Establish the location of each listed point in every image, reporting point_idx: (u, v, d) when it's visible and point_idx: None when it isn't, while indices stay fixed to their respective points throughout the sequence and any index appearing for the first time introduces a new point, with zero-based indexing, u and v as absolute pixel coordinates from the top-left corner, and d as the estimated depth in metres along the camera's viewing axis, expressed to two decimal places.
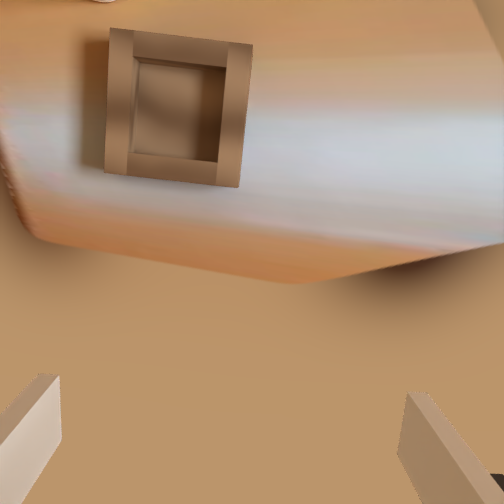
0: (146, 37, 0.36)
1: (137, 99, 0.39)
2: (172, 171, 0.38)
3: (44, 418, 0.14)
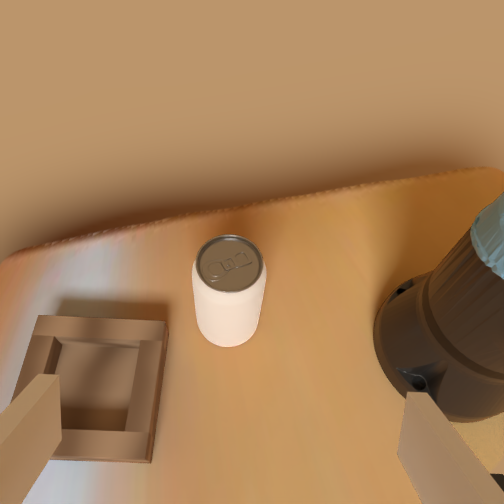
0: (155, 352, 0.39)
1: (110, 346, 0.42)
2: (27, 379, 0.37)
3: (44, 418, 0.14)
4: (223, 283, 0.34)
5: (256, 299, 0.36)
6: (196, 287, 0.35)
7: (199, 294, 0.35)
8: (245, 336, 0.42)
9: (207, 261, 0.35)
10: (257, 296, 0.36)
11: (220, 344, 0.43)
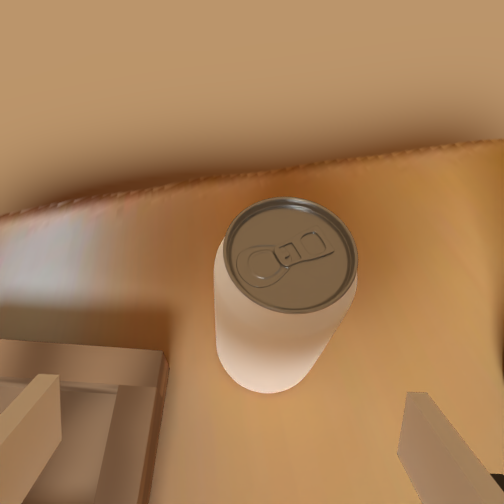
0: (144, 408, 0.22)
1: (70, 390, 0.24)
2: None
3: (44, 418, 0.14)
4: (278, 292, 0.17)
5: (338, 324, 0.19)
6: (222, 298, 0.18)
7: (228, 312, 0.18)
8: (299, 378, 0.25)
9: (245, 248, 0.18)
10: (341, 319, 0.18)
11: (255, 389, 0.25)
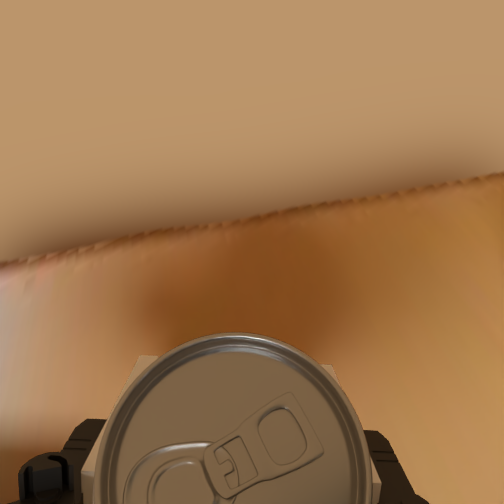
0: None
1: None
2: None
3: None
4: None
5: None
6: None
7: None
8: None
9: (146, 455, 0.09)
10: None
11: None
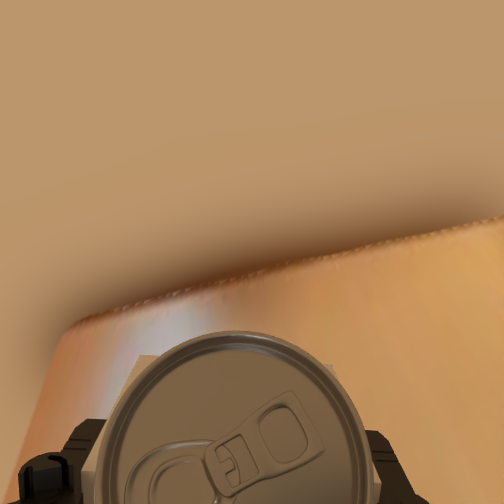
0: None
1: None
2: None
3: None
4: None
5: None
6: None
7: None
8: None
9: (147, 454, 0.09)
10: None
11: None
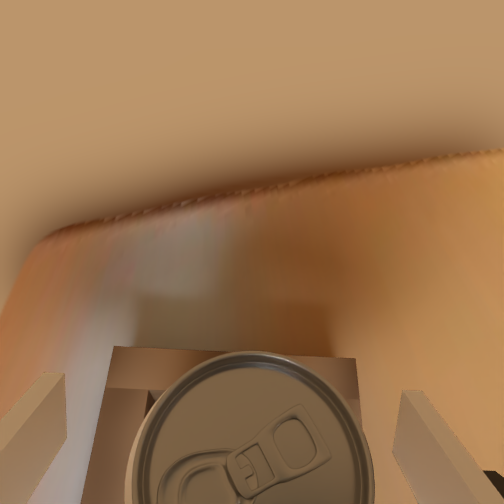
0: None
1: None
2: (103, 488, 0.18)
3: (50, 416, 0.15)
4: None
5: None
6: None
7: None
8: None
9: (175, 462, 0.10)
10: None
11: None
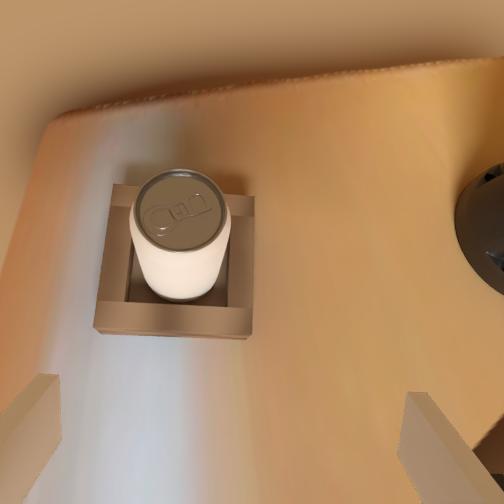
0: (249, 228, 0.36)
1: None
2: (114, 252, 0.34)
3: (44, 418, 0.14)
4: (172, 238, 0.25)
5: (217, 256, 0.28)
6: (136, 242, 0.26)
7: (140, 251, 0.26)
8: (203, 291, 0.34)
9: (149, 207, 0.26)
10: (219, 253, 0.27)
11: (172, 300, 0.35)
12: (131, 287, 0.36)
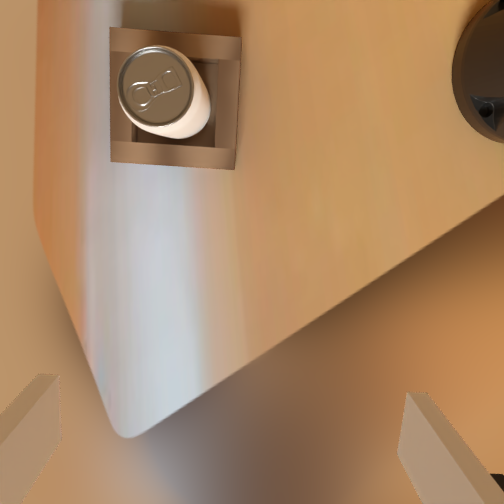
0: (234, 72, 0.40)
1: None
2: (118, 98, 0.40)
3: (44, 418, 0.14)
4: (150, 113, 0.32)
5: (192, 121, 0.34)
6: None
7: None
8: (195, 132, 0.41)
9: (130, 85, 0.31)
10: (192, 120, 0.33)
11: None
12: None
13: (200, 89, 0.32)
